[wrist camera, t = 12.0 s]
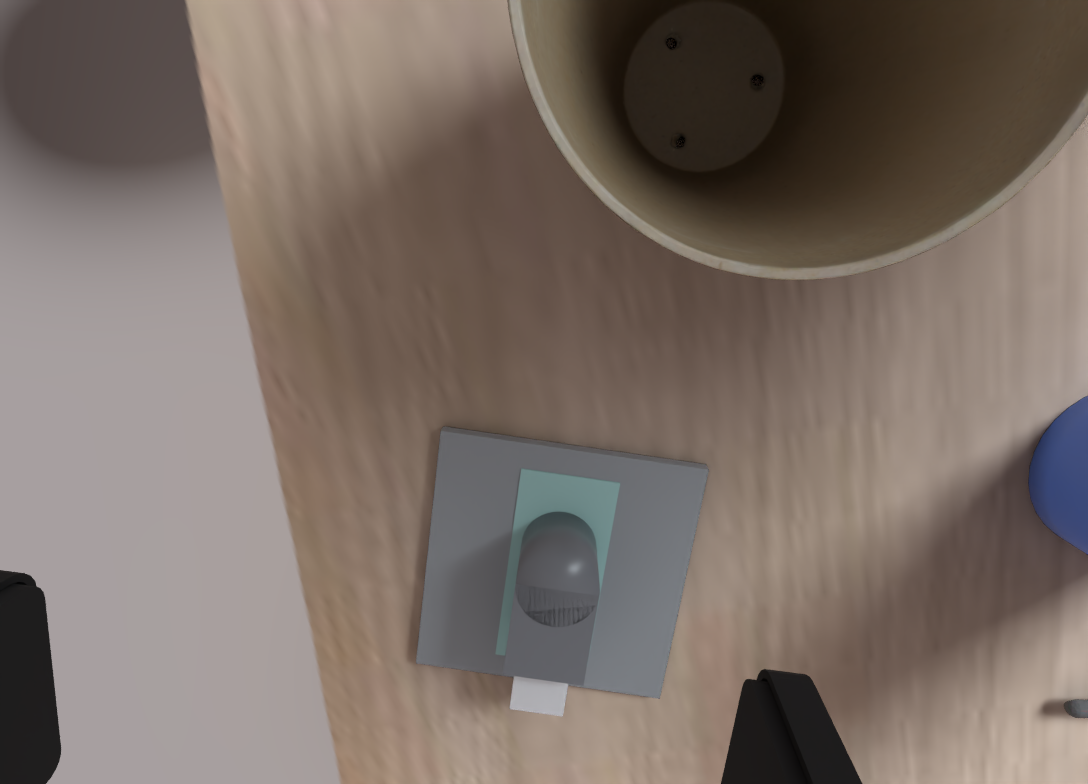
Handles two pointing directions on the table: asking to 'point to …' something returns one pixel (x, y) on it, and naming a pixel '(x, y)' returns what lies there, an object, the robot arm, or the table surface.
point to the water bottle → (1063, 476)
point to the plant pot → (805, 118)
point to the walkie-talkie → (1077, 708)
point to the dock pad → (496, 535)
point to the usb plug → (552, 612)
